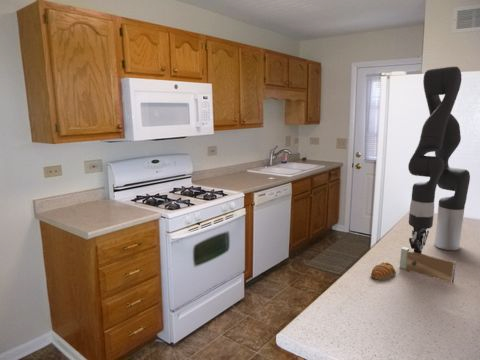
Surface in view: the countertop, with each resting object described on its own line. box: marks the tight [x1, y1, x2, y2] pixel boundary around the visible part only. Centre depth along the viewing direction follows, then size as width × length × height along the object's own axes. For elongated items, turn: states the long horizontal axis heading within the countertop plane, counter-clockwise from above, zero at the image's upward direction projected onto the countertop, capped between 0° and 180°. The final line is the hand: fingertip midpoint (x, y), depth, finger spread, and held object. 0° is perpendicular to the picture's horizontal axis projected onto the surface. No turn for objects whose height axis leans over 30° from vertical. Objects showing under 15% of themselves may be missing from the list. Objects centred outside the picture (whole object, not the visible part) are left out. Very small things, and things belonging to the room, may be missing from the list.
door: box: [405, 250, 454, 283], centre depth 121 cm, size 2×14×7 cm, turn 50°
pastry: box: [370, 262, 397, 281], centre depth 123 cm, size 9×7×4 cm
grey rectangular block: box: [399, 246, 457, 284], centre depth 123 cm, size 2×17×8 cm, turn 45°
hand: (416, 258), depth 126 cm, fingers closed
